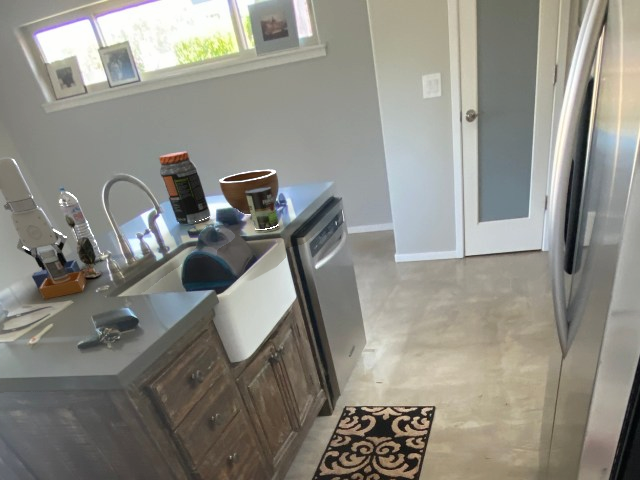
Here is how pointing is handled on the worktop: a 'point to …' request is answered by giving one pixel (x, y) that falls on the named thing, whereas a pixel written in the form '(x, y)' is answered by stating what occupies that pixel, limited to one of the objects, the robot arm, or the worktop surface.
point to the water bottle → (77, 219)
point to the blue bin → (71, 266)
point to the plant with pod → (85, 252)
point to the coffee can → (262, 209)
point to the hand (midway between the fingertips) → (54, 266)
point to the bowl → (247, 187)
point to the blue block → (40, 277)
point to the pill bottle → (54, 266)
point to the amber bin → (63, 286)
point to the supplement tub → (184, 188)
